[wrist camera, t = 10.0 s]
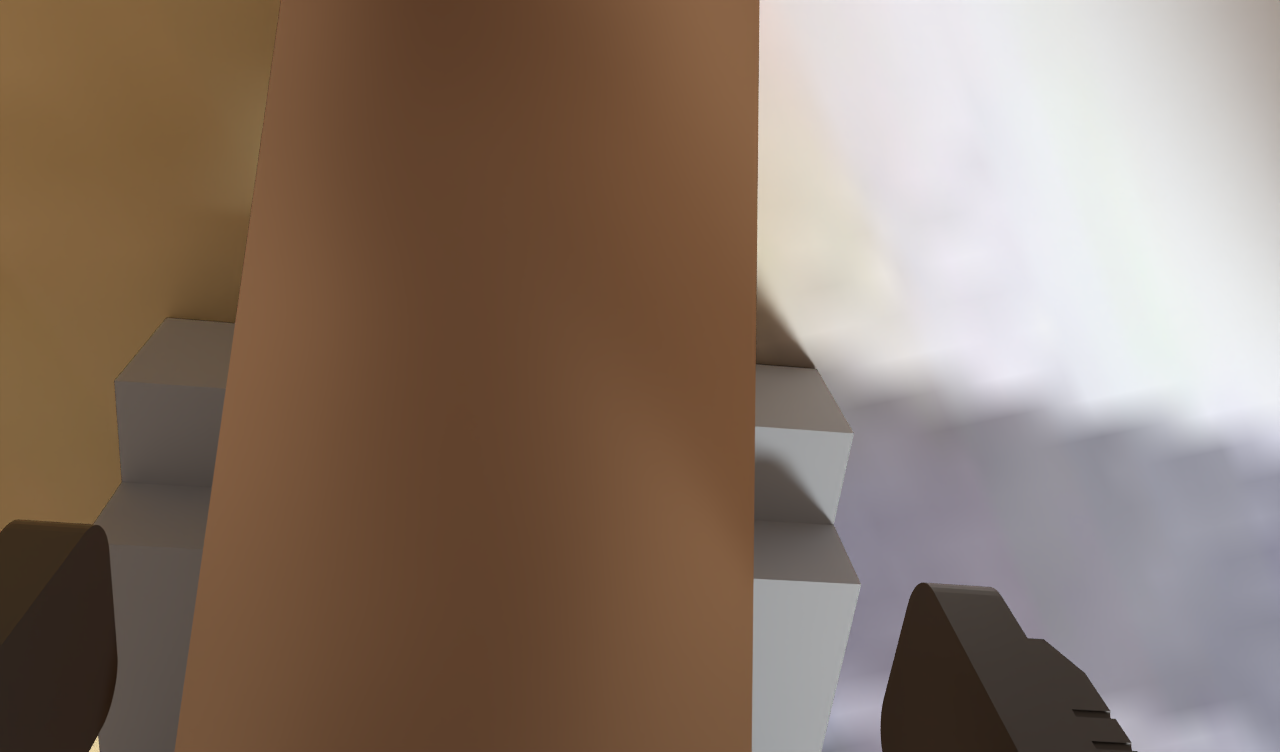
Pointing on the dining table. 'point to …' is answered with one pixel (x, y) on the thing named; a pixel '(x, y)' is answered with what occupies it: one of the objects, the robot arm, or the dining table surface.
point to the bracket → (180, 496)
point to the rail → (490, 387)
